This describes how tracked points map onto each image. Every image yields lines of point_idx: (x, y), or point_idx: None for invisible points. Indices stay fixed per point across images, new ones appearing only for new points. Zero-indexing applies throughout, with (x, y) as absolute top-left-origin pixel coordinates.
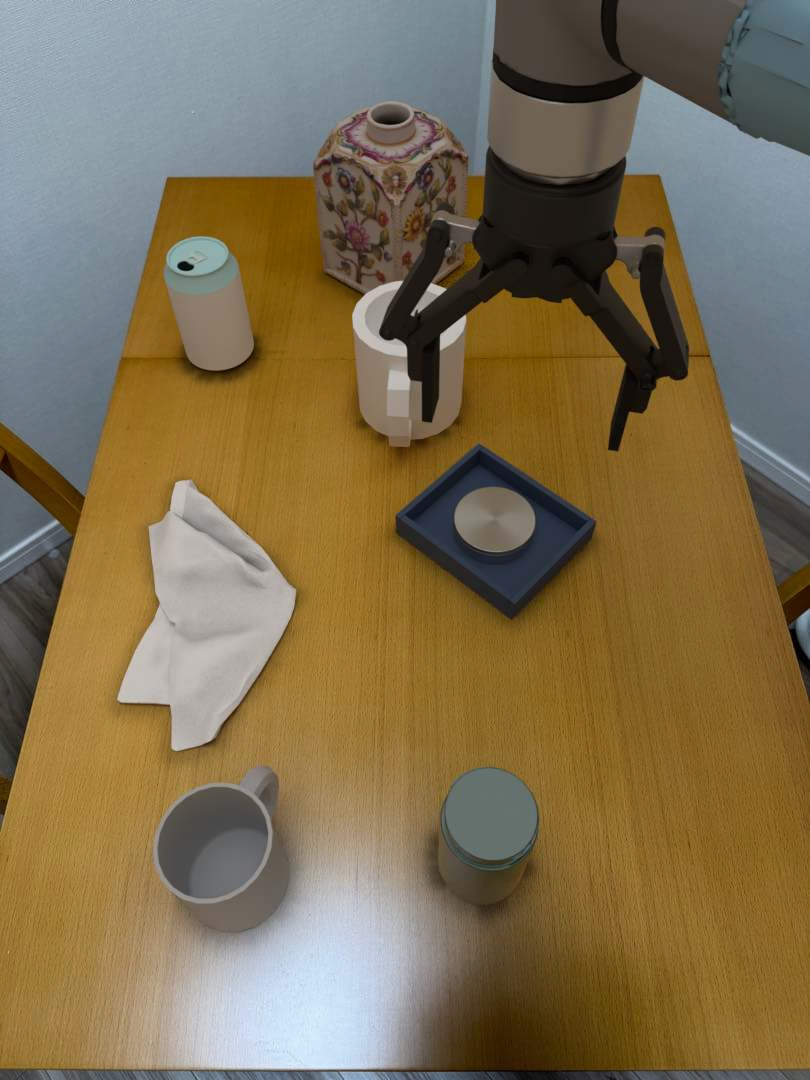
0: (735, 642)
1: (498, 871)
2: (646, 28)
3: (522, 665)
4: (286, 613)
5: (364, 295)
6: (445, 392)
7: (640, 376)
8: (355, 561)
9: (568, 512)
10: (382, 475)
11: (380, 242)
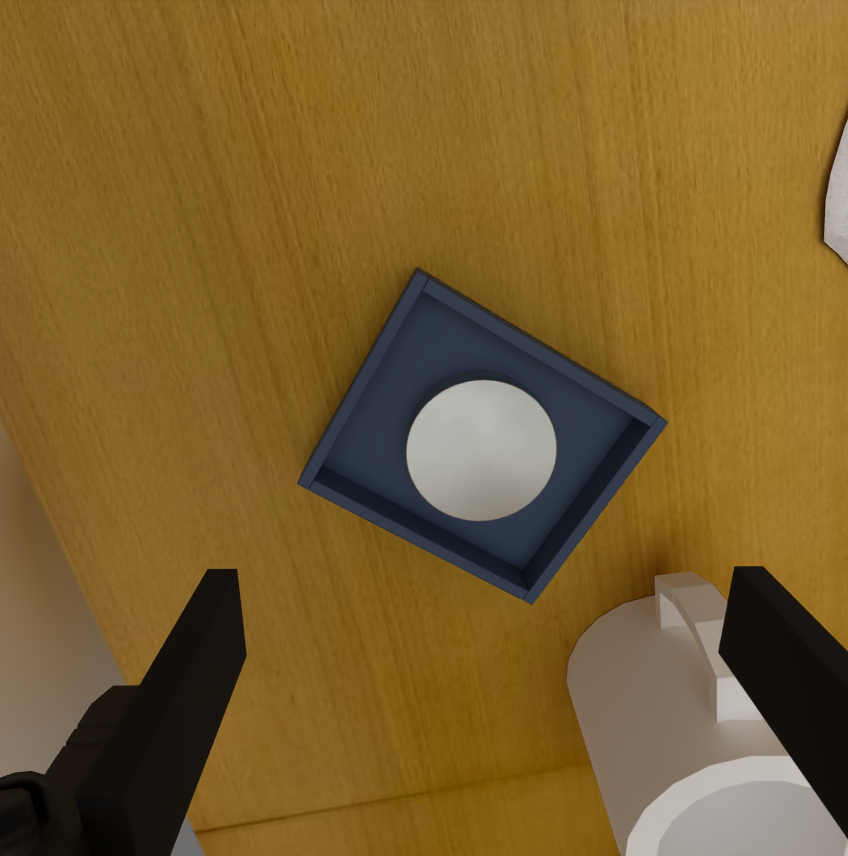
0: (31, 307)
1: None
2: None
3: (384, 175)
4: (842, 178)
5: None
6: (616, 692)
7: (44, 843)
8: (715, 330)
9: (351, 494)
10: (685, 517)
11: None
